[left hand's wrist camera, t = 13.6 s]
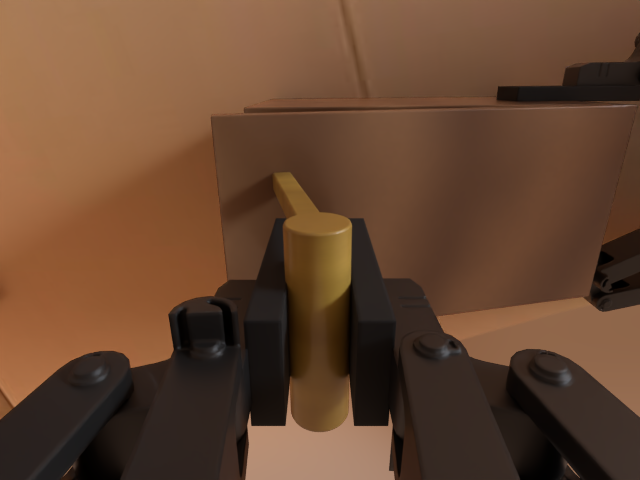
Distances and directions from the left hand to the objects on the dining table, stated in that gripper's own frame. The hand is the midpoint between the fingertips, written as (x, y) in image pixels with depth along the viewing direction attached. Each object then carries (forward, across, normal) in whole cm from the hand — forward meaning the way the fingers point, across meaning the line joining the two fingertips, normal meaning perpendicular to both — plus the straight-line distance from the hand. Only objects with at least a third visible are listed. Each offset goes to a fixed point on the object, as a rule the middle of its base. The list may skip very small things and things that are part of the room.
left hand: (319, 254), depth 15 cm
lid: (+4, -5, 0) cm, 6 cm away
